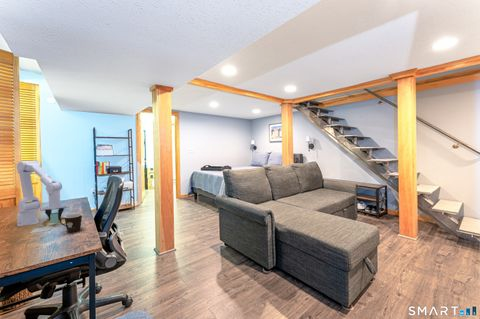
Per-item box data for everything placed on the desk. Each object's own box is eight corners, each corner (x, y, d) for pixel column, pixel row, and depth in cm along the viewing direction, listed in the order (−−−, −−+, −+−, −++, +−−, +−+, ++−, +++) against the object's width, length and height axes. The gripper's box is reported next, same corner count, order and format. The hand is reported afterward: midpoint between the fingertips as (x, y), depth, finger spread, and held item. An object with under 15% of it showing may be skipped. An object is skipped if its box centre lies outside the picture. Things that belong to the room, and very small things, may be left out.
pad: (29, 234, 125) (29, 233, 125) (34, 229, 132) (34, 228, 132) (49, 231, 129) (49, 230, 129) (53, 226, 137) (53, 226, 137)
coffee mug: (85, 229, 132) (85, 214, 132) (71, 234, 124) (70, 218, 124) (73, 227, 136) (73, 212, 135) (58, 232, 128) (58, 216, 127)
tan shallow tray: (41, 228, 134) (41, 223, 134) (46, 223, 144) (46, 218, 144) (66, 224, 141) (66, 219, 141) (69, 220, 150) (69, 215, 150)
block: (50, 223, 137) (50, 214, 136) (52, 221, 140) (51, 213, 140) (58, 222, 139) (58, 213, 138) (59, 220, 142) (59, 212, 142)
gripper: (37, 202, 132) (38, 223, 132) (66, 200, 139) (67, 219, 140) (41, 200, 138) (42, 220, 138) (69, 198, 145) (69, 217, 146)
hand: (55, 220), depth 139 cm, fingers closed on block, 4 cm apart
